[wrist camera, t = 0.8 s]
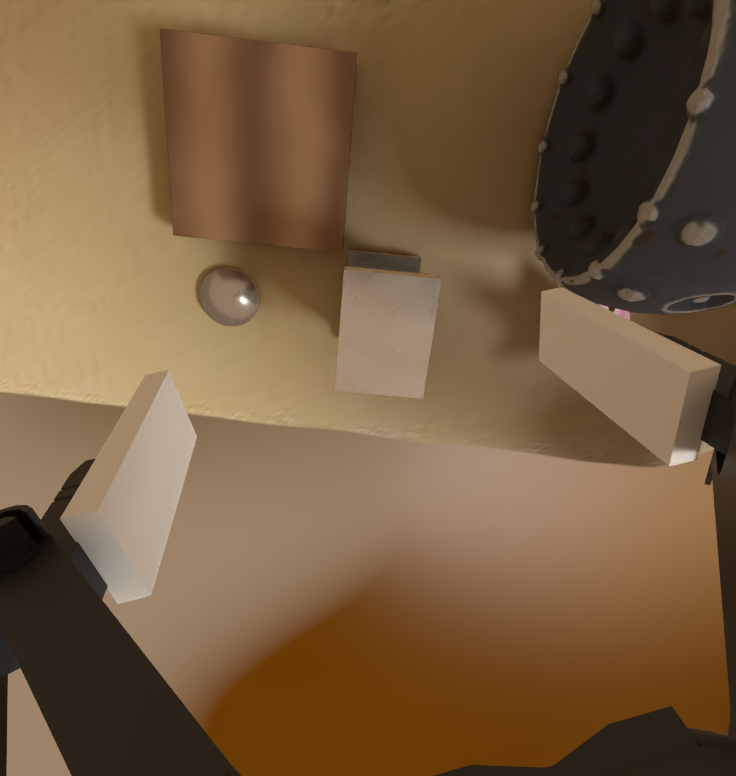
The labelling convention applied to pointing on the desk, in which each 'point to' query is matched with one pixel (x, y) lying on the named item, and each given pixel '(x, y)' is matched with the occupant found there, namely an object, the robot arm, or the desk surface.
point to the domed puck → (229, 296)
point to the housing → (385, 325)
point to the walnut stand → (258, 139)
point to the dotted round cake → (644, 159)
